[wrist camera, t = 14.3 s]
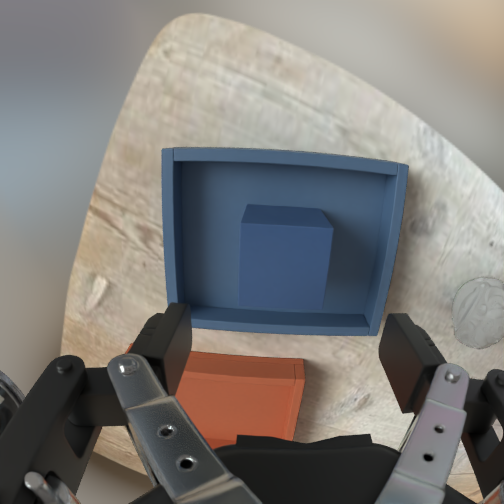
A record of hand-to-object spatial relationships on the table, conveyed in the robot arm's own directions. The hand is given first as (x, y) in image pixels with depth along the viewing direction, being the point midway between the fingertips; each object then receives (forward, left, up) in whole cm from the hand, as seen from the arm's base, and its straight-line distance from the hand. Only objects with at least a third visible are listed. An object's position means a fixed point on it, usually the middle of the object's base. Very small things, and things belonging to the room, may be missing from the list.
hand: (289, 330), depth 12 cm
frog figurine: (+17, -4, -12) cm, 21 cm away
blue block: (0, 0, -11) cm, 11 cm away
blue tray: (0, 0, -12) cm, 12 cm away
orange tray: (-5, -17, -12) cm, 21 cm away
